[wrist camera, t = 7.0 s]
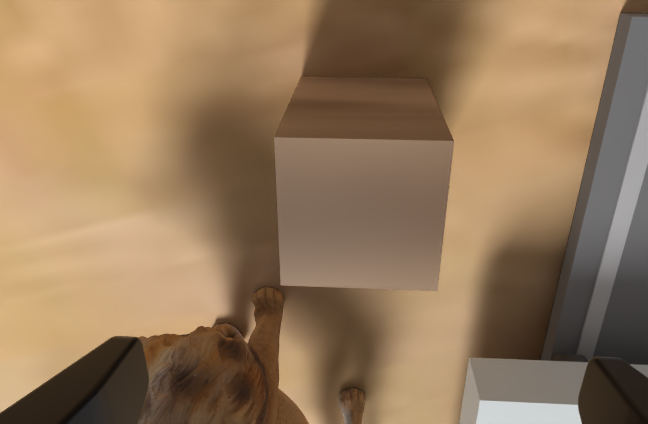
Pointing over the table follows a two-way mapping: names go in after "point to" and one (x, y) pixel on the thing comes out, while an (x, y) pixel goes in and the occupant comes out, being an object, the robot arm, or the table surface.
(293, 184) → the brown wooden block
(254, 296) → the lion figurine
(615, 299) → the track mat
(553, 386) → the white rimmed tray
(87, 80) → the table surface
